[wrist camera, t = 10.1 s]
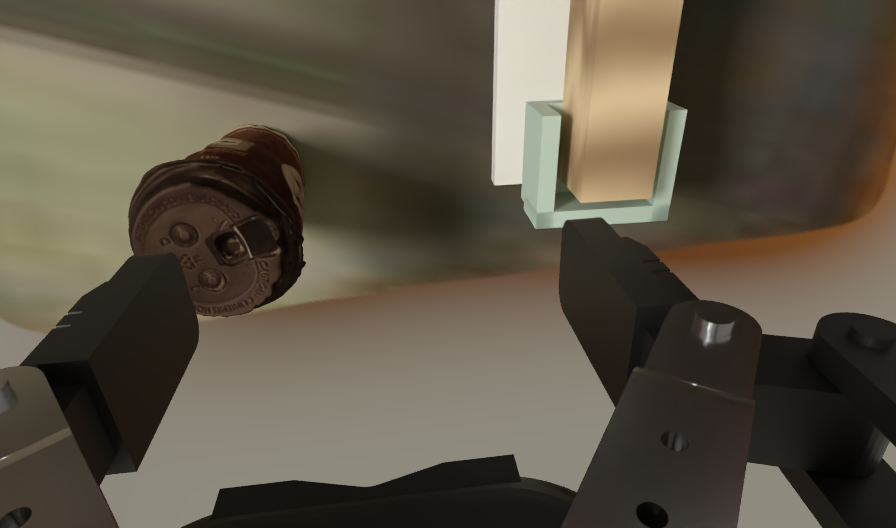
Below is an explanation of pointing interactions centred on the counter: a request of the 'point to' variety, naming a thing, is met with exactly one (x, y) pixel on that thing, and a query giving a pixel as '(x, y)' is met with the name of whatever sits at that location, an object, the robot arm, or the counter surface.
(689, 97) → the counter surface
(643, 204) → the bracket stand
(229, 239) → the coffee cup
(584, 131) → the tan rectangular bar
